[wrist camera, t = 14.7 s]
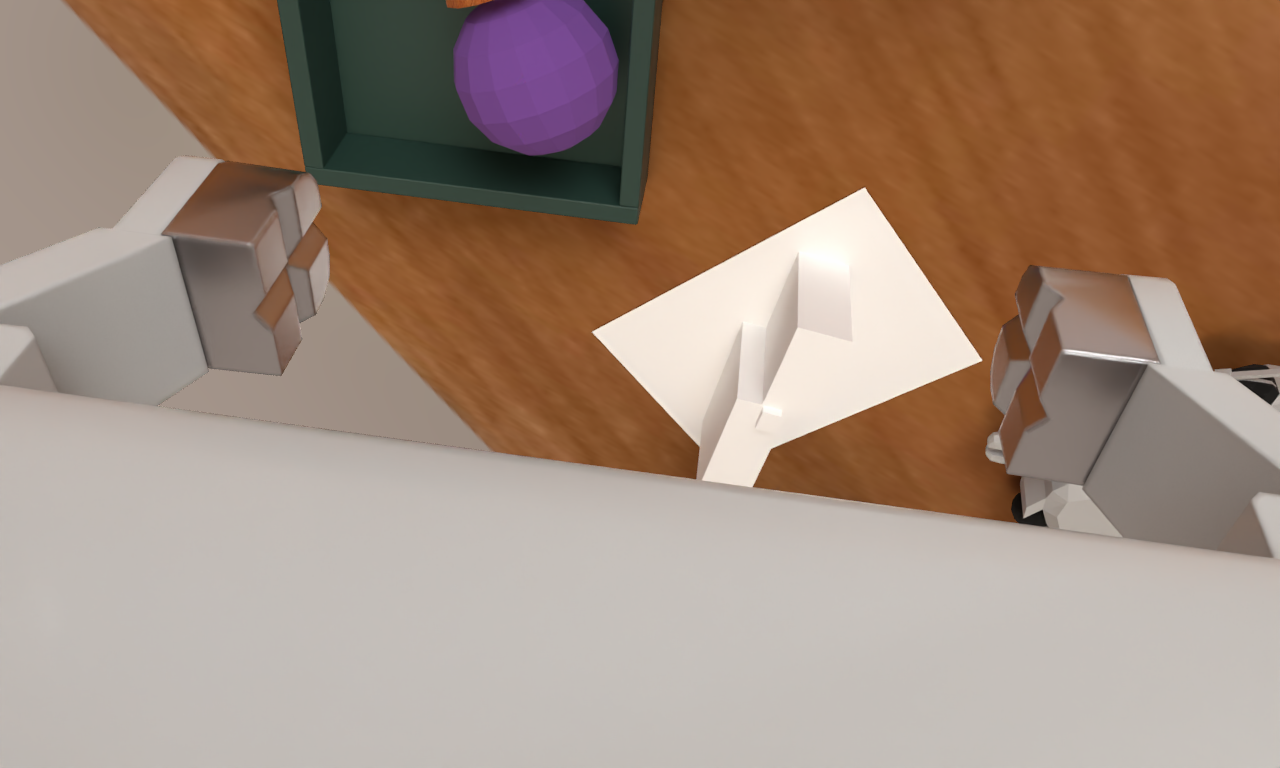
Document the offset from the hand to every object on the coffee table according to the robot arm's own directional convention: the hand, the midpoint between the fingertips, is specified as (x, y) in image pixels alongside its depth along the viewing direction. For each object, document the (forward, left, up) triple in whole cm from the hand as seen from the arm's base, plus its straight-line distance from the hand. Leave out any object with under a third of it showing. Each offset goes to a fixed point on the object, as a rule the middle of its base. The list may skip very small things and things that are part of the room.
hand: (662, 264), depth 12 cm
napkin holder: (+25, +5, -29) cm, 39 cm away
